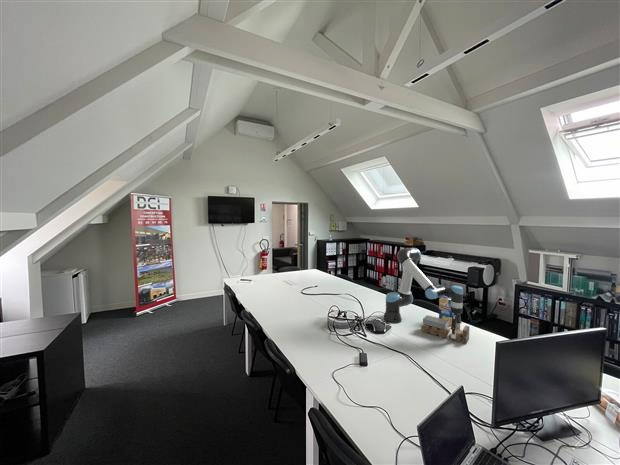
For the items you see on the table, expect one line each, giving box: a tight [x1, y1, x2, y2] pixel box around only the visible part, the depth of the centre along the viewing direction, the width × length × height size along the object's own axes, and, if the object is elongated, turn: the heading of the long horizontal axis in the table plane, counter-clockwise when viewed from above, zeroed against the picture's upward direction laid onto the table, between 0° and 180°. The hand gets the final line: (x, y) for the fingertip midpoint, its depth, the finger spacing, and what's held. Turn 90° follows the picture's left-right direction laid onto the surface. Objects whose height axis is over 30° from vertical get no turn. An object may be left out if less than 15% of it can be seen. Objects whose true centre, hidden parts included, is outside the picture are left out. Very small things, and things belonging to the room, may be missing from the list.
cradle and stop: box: [446, 325, 470, 345], centre depth 185 cm, size 12×10×10 cm
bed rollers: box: [421, 324, 451, 339], centre depth 196 cm, size 11×18×6 cm, turn 48°
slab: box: [422, 315, 449, 330], centre depth 195 cm, size 16×10×4 cm, turn 48°
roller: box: [450, 328, 463, 343], centre depth 186 cm, size 11×6×6 cm
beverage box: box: [438, 296, 454, 327], centre depth 213 cm, size 7×11×22 cm, turn 36°
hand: (455, 335), depth 186 cm, fingers open, 13 cm apart
